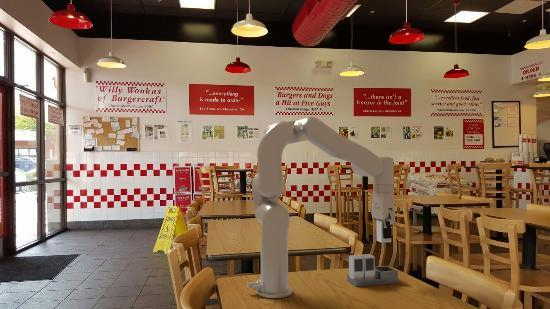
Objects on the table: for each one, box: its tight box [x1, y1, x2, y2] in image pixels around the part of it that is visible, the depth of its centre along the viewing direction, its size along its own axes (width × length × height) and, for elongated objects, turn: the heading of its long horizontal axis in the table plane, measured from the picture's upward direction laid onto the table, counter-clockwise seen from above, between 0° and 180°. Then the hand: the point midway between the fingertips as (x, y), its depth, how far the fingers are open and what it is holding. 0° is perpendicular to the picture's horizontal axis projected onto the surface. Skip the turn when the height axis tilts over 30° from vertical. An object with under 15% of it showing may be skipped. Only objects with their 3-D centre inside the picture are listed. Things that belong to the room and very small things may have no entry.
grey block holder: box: [346, 253, 400, 288], centre depth 153 cm, size 17×8×10 cm, turn 104°
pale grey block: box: [375, 220, 392, 244], centre depth 154 cm, size 4×4×8 cm
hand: (383, 236), depth 154 cm, fingers closed on pale grey block, 4 cm apart
